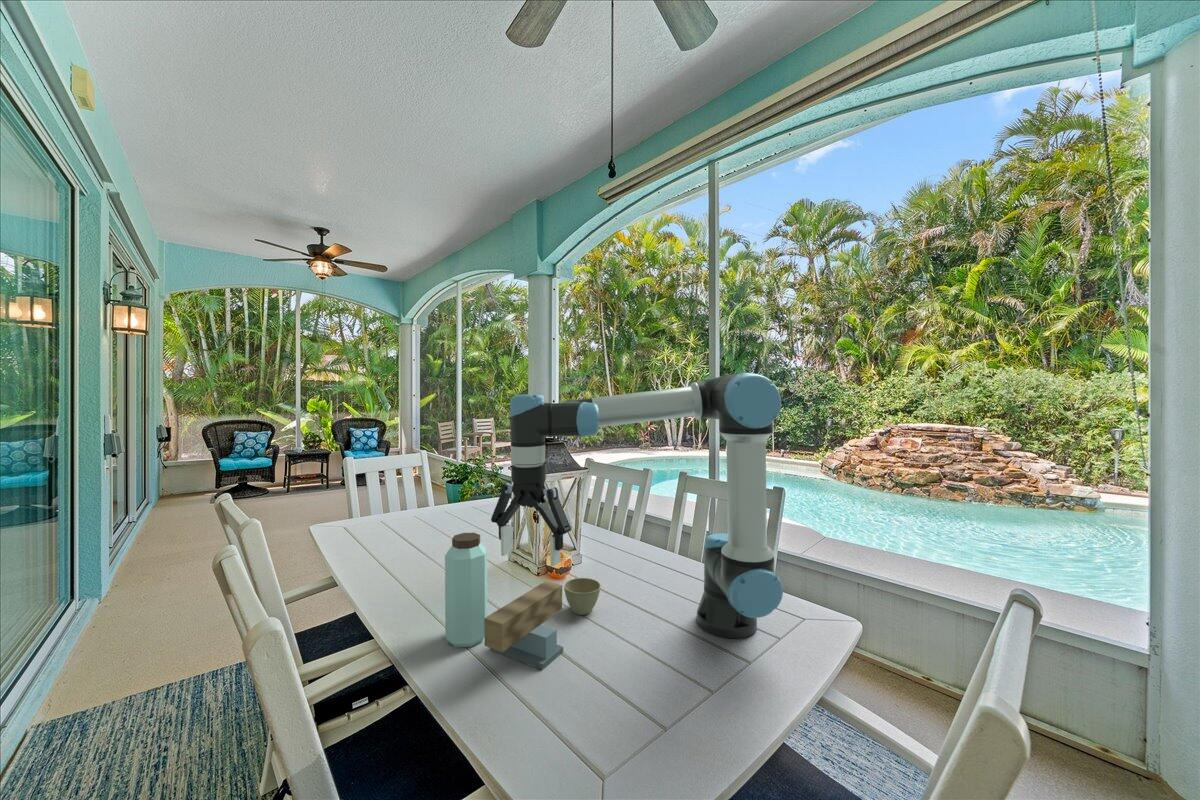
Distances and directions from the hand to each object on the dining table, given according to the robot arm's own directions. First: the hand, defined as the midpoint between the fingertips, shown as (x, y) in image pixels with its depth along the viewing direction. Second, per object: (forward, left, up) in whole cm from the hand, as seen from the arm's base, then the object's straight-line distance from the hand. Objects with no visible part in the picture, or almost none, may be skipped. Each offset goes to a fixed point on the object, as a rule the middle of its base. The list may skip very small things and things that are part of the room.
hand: (530, 558), depth 105 cm
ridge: (+3, -2, -23) cm, 23 cm away
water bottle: (+19, +1, -23) cm, 30 cm away
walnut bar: (+3, -2, -17) cm, 17 cm away
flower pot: (+2, -25, -23) cm, 35 cm away
